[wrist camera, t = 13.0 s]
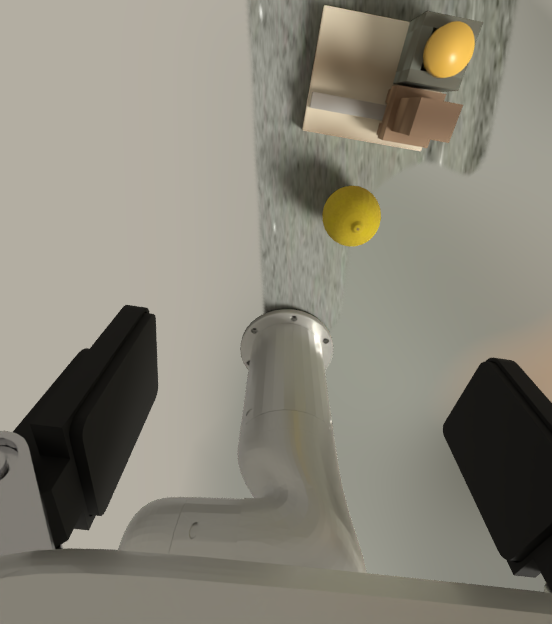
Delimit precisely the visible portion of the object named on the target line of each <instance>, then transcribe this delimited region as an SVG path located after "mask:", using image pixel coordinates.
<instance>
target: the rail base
mask: <svg viewBox="0 0 552 624" xmlns="http://www.w3.org/2000/svg"><path fill="white" fill-rule="evenodd" d="M454 21H460V22H464V23H466V24H467V25H468V26H469V27H470V28H471V29H472V31H473V34H474V39H475V43H476V41H477V38H478V35H479V32H480V30H481V27H482V24H483V22H480V21H475V20H470V19H465V18H460V17H455V16H450V15H445V14H440V13H435V12H430V11H426V12H425V13H423V14H422V15H420V16H419V17H417V18H415V19H414V20H412V21H411V22H407V21H402V20H397V19H392V18H387V17H382V16H377V15H372V14H367V13H362V12H357V11H352V10H347V9H342V8H337V7H332V6H327V5H324V8H323V12H322V17H321V23H320V29H319V35H318V41H317V46H316V52H315V58H314V64H313V70H312V75H311V81H310V87H309V93H308V99H307V105H306V110H305V116H304V122H303V128H302V130H304V131H309V132H315V133H321V134H326V135H332V136H338V137H343V138H349V139H355V140H360V141H366V142H371V143H377V144H383V145H388V146H394V147H400V148H405V149H411V150H417V151H421V149H422V147H418V146H413V145H407V144H401V143H396V142H390V141H385V140H381V139H379V138H378V135H376V134H377V130H378V126H379V123H382V120H383V116H384V113H385V109H386V106H387V103H385V101H386V97H387V94H388V90H389V89H391V88H392V86H397V85H400V86H405V87H410V88H416V89H421V90H426V91H432V92H437V93H441V92H447V91H458V90H459V87H460V84H461V82H462V79H463V76H464V73H465V71H466V68H467V65H468V64H467V65H466V66H465V68H464V69H463V70H461V71H460V72H459V73H457V74H456V75H454V76H451V77H446V78H435V77H433V76H431V75H430V74H429V73H428V72H426V71H421V66H422V63H423V53H424V49H425V46H426V43H427V41H428V39H429V38H430V36H431V35H432V34H433V33H434V32H435V31H436V30H437V29H439V28H440V27H442V26H444V25H446V24H448V23H451V22H454ZM474 46H475V45H474Z"/></svg>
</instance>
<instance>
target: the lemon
mask: <svg viewBox="0 0 552 624" xmlns="http://www.w3.org/2000/svg"><path fill="white" fill-rule="evenodd" d="M380 220H381V212H380V207H379V205H378V202H377V200H376V198H375V197H374V196H373V194H372V193H370V192H369V191H368V190H366V189H364V188H362V187H359V186H346V187H343V188H340V189H338V190H337V191H335V192H334V193H332V195H331V196H330V197H329V198H328V199H327V201H326V203H325V205H324V209H323V224H324V227H325V230H326V231H327V233H328V235H329V236H330V237H331V238H332V239H333V240H334V241H336V242H338V243H339V244H341V245H345V246H358V245H362V244H364V243H366V242H367V241H369V240H370V239H371V238H372V237H373V236H374V235H375V233H376V232H377V230H378V227H379V225H380Z"/></svg>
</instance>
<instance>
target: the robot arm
mask: <svg viewBox="0 0 552 624" xmlns="http://www.w3.org/2000/svg"><path fill="white" fill-rule="evenodd" d="M240 350H241V357H242V359H243V362H244V364H245V366H246V367H247V369H248V370H249V372H248V379H247V386H246V393H245V400H244V407H243V414H242V421H241V428H240V435H239V443H238V464H239V468H240V471H241V474H242V477H243V479H244V481H245V484H246V485H247V487H248V489H249V491H250V492H251V494H252V496H253V497H254V498H244V499H230V498H205V497H204V498H203V497H170V498H162V499H158V500H155V501H152V502H150V503H148V504H147V505H145V506H144V507H142V508H141V509H140V510H139V511H138V512H137V513H136V514H135V516H134V517H133V518H132V520H131V521H130V523H129V525H128V526H127V528H126V531H125V533H124V535H123V537H122V540H121V542H120V545H119V548H118V550H106V549H105V550H104V549H63V547H62V544H63V543H64V542H66V541H67V540H68V539H69V537H70V535H71V533H72V531H73V529H82V530H89V528H90V527H91V524H92V522H93V520H94V518H95V516H96V515H97V516H102V515H103V514H104V512H105V511H106V509H107V507H108V504H109V502H110V500H111V498H112V495H113V493H114V490H115V489H116V486H117V484H118V482H119V479H120V477H121V475H122V473H123V471H124V468H125V466H126V464H127V462H128V459H129V457H130V455H131V452H132V450H133V448H134V445H135V443H136V441H137V439H138V437H139V434H140V432H141V430H142V428H143V425H144V423H145V421H146V419H147V416H148V414H149V412H150V410H151V407H152V405H153V403H154V401H155V398H156V395H157V391H158V371H157V342H156V318H155V315H154V314H149V310H148V308H144V307H137V306H130V305H125V306H124V307H123V308H122V309H121V310H120V312H119V313H118V314H117V315H116V317H115V318H114V319H113V320H112V322H111V323H110V324H109V325H108V327H107V328H106V329H105V330H104V332H103V333H102V334H101V335H100V337H99V338H98V339H97V340H96V342H95V343H94V344H93V345H92V347H91V348H90V349H83V350H82V351H81V352H79V353H78V354H77V356H76V357H75V358H74V359H73V360H72V361H71V363H70V364H69V365H68V366H67V367H66V369H65V370H64V371H63V372H62V373H61V375H60V376H59V377H58V378H57V379H56V381H55V382H54V383H53V384H52V385H51V387H50V388H49V389H48V390H47V392H46V393H45V394H44V395H43V396H42V398H41V399H40V400H39V401H38V402H37V403H36V405H35V406H34V407H33V408H32V409H31V411H30V412H29V413H28V414H27V415H26V417H25V418H24V419H23V420H22V422H21V423H20V424H19V425H18V426H17V428H16V429H15V430H14V431H13V432H8V431H0V624H552V403H551V402H550V401H549V399H548V398H547V397H546V396H545V395H544V394H543V393H542V392H541V390H540V389H539V388H538V387H537V386H536V385H535V384H534V382H533V381H532V380H531V379H530V378H529V377H528V376H527V375H526V373H525V372H524V371H523V370H522V369H521V368H520V367H519V365H518V364H517V363H515V362H514V361H512V360H506V359H498V358H489V359H488V360H486V362H483V363H481V364H480V365H479V367H478V369H477V370H476V372H475V373H474V375H473V377H472V379H471V380H470V382H469V383H468V385H467V387H466V388H465V390H464V392H463V393H462V395H461V397H460V398H459V400H458V401H457V403H456V405H455V406H454V408H453V410H452V411H451V413H450V415H449V416H448V418H447V419H446V421H445V423H444V425H443V434H444V437H445V439H446V441H447V443H448V445H449V447H450V449H451V452H452V454H453V456H454V458H455V460H456V462H457V464H458V466H459V469H460V471H461V473H462V475H463V477H464V479H465V481H466V484H467V486H468V488H469V490H470V492H471V494H472V496H473V498H474V501H475V503H476V505H477V507H478V509H479V511H480V513H481V515H482V518H483V520H484V522H485V524H486V526H487V528H488V530H489V532H490V535H491V537H492V539H493V541H494V543H495V545H496V547H497V549H498V551H499V553H500V555H501V556H502V557H503V558H504V559H506V560H507V562H508V564H509V566H510V568H511V570H512V572H513V575H516V576H525V577H536V576H538V575H539V574H540V573H541V574H542V575H543V577H544V579H545V581H546V583H545V587H544V592H538V591H529V590H520V589H511V588H502V587H493V586H484V585H474V584H465V583H456V582H455V583H454V582H446V581H437V580H427V579H416V578H408V577H398V576H389V575H379V574H369V573H367V570H366V566H365V562H364V559H363V555H362V551H361V548H360V545H359V542H358V538H357V535H356V532H355V529H354V526H353V523H352V520H351V516H350V513H349V510H348V506H347V502H346V499H345V495H344V491H343V486H342V482H341V477H340V472H339V466H338V459H337V453H336V446H335V440H334V432H333V425H332V418H331V411H330V404H329V397H328V390H327V383H326V376H325V370H326V368H327V367H328V366H329V364H330V362H331V360H332V356H333V342H332V337H331V335H330V333H329V330H328V329H327V328H326V326H325V325H324V324H323V323H322V322H321V321H320V320H319V319H317V318H316V317H314V316H312V315H311V314H308V313H306V312H303V311H299V310H293V309H281V310H274V311H271V312H268V313H265V314H263V315H261V316H259V317H258V318H256V319H255V320H254V321H253V322H251V324H250V325H249V326H248V327H247V329H246V330H245V332H244V334H243V337H242V341H241V348H240Z"/></svg>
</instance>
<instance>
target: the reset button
mask: <svg viewBox="0 0 552 624" xmlns="http://www.w3.org/2000/svg"><path fill="white" fill-rule="evenodd" d="M474 45H475V39H474V34H473V31H472V29H471V28H470V27H469V26H468V25H467V24H466V23H464V22H460V21H454V22H451V23H448V24H446V25H444V26H442V27H440V28H439V29H437V30H436V31H435V32H434V33H433V34H432V35H431V36H430V38H429V39H428V41H427V43H426V46H425V49H424V53H423V63H422V66H421V71H426V72H428V73H429V74H430V75H431V76H433V77H435V78H446V77H451V76H454V75H456V74H457V73H459V72H460V71H461V70H463V69H464V68H465V66H466V65H467V64H468V62H469V61H470V59H471V57H472V54H473V51H474Z"/></svg>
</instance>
